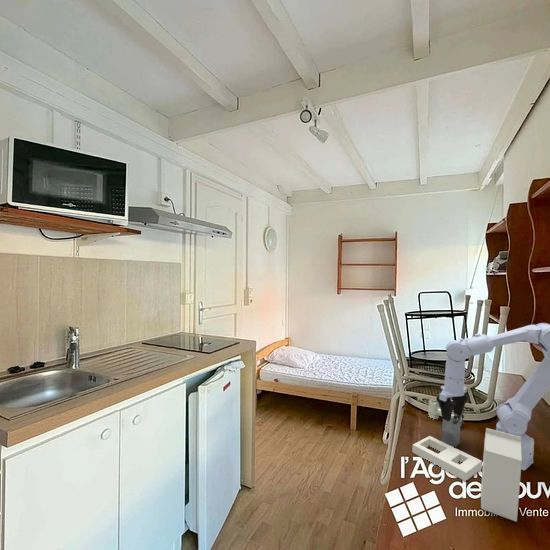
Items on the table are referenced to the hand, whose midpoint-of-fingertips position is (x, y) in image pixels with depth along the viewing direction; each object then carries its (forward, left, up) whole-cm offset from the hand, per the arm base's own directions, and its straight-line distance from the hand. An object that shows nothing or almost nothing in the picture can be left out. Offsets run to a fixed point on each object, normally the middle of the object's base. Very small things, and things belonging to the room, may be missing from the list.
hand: (451, 417), depth 108 cm
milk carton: (-21, +19, -9) cm, 30 cm away
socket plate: (-4, +11, -9) cm, 15 cm away
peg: (0, 0, -9) cm, 9 cm away
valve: (+9, -14, -10) cm, 19 cm away
